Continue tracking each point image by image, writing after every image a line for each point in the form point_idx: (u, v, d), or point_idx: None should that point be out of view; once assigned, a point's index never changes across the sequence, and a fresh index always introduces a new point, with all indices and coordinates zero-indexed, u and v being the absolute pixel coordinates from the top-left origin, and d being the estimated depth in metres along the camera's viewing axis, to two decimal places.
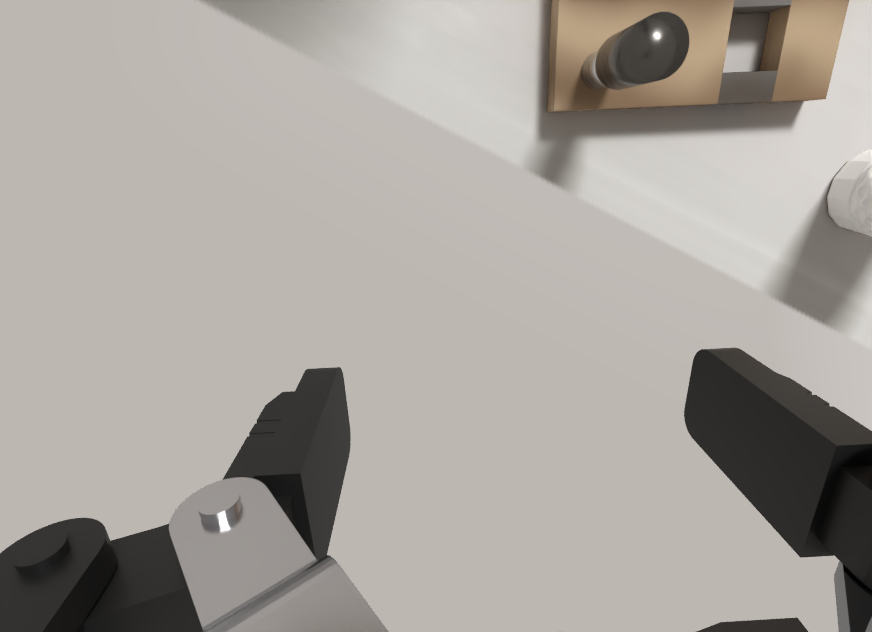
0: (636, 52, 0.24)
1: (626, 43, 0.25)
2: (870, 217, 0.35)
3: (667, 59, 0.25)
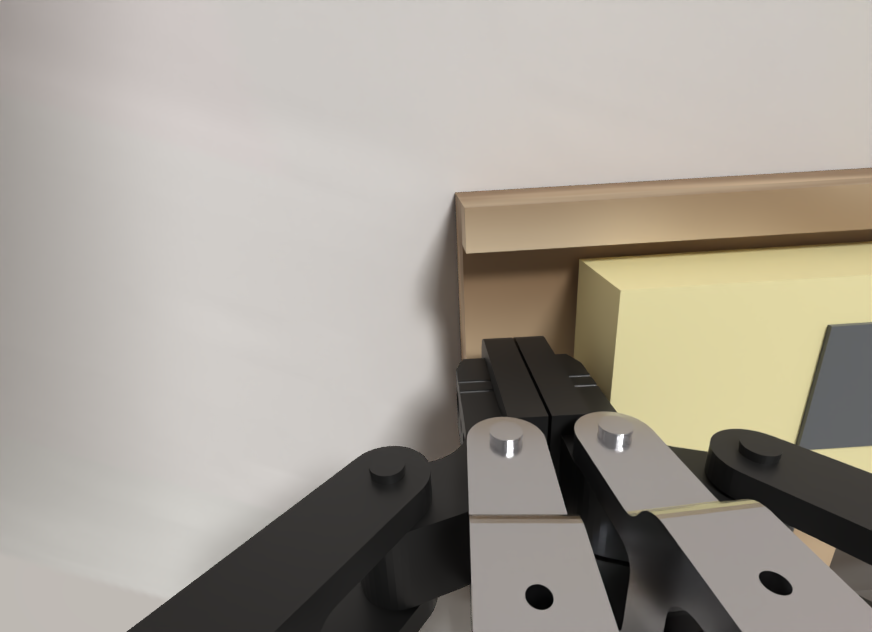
0: None
1: None
2: None
3: None
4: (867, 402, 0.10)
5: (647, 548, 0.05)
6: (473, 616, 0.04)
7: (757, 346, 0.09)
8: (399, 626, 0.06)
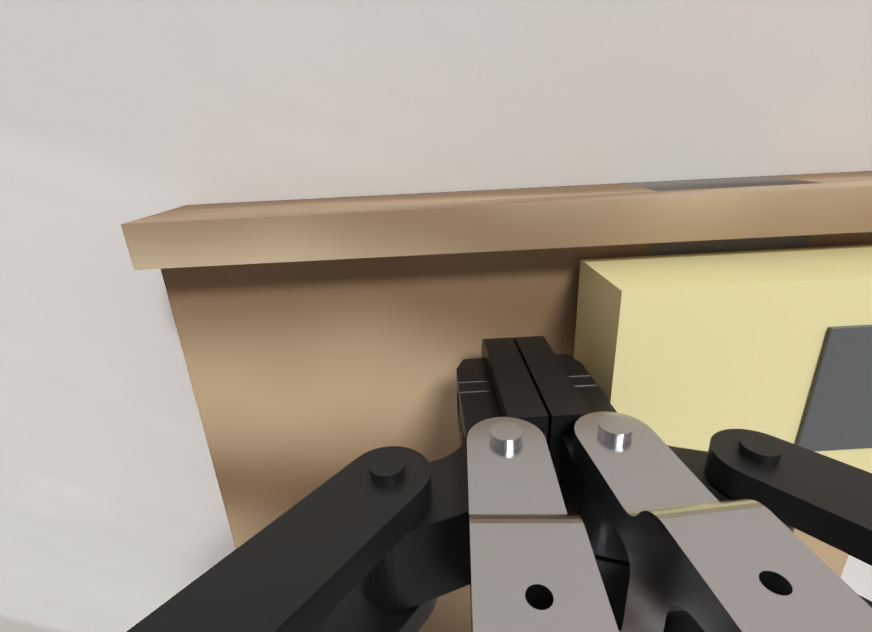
0: None
1: None
2: None
3: None
4: (866, 404, 0.10)
5: (646, 548, 0.05)
6: (473, 616, 0.04)
7: (757, 348, 0.10)
8: (399, 626, 0.06)
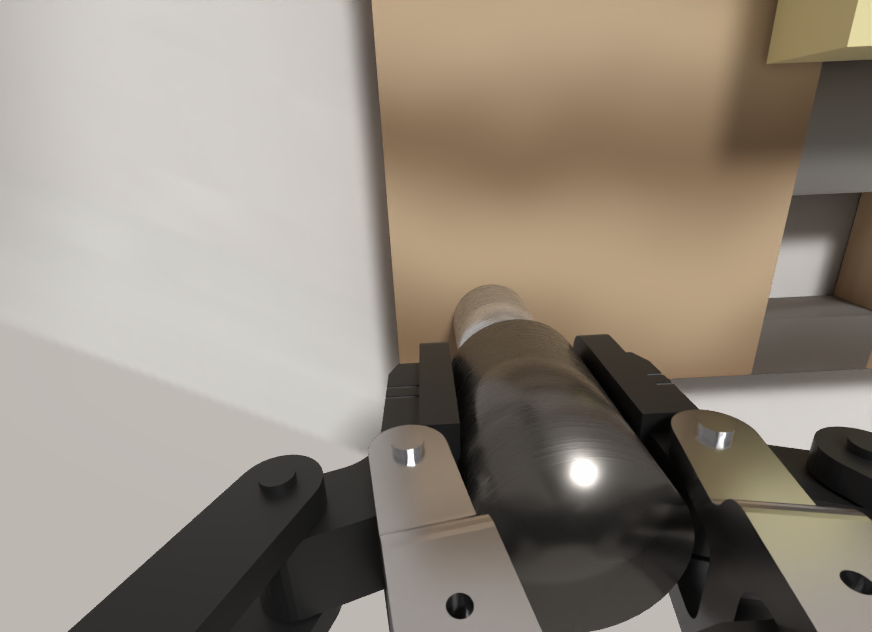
0: None
1: None
2: None
3: (614, 583, 0.07)
4: None
5: (726, 536, 0.05)
6: None
7: None
8: None
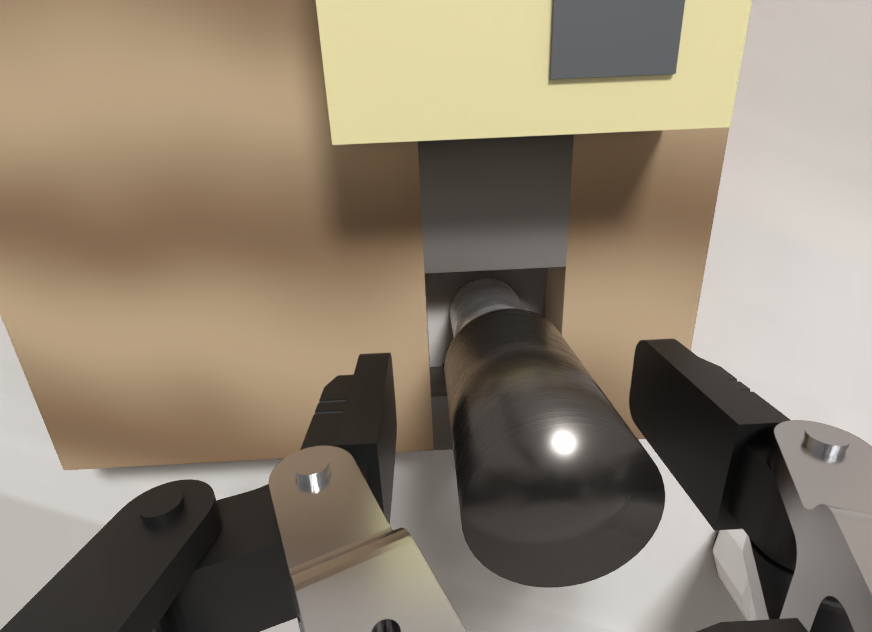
0: (489, 528, 0.07)
1: (460, 484, 0.08)
2: None
3: (594, 539, 0.07)
4: (622, 5, 0.08)
5: (815, 541, 0.05)
6: None
7: None
8: None
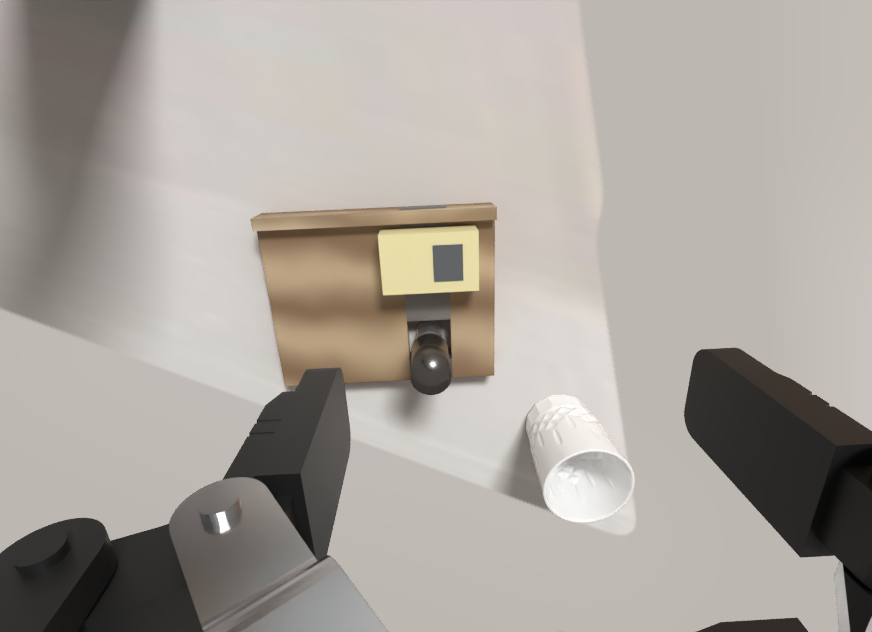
0: (416, 380, 0.37)
1: (411, 372, 0.37)
2: None
3: (438, 383, 0.37)
4: (449, 267, 0.38)
5: None
6: None
7: (415, 251, 0.37)
8: None
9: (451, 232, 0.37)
